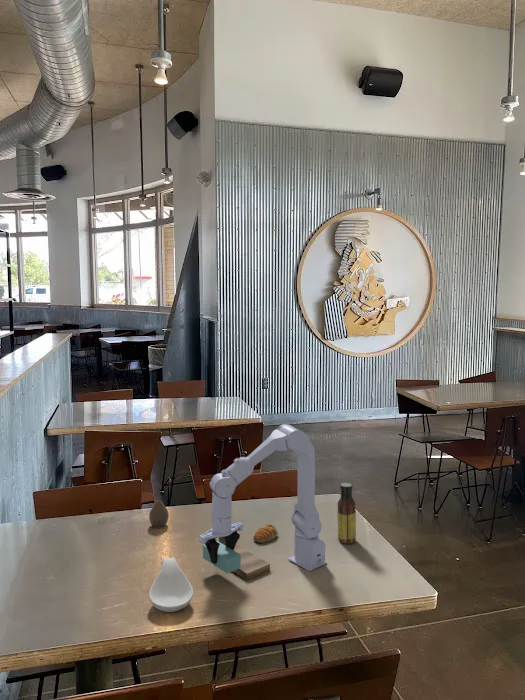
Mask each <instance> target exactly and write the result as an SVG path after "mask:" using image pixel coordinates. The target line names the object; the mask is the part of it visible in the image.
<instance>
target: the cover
mask: <svg viewBox="0 0 525 700" xmlns="http://www.w3.org/2000/svg"><path fill="white" fill-rule="evenodd" d="M215 540H216V539H215ZM216 542H218V543H219V544H220V545H219V548H218V555H217V564H214V563H212V562H211V559H210V555H209V552H208V549H207V547H206V545H205V544H202V559H204V560H205V561H207V562H209V563H210V564H212V565H213V566H215V567H216V568H218V569H219V570H220V571H222V572H223V573H226V574H229V573H231V572H234V570H237V569H239V568H241V554H239V553H237V552H235V551H234V550H232V549H230V548H229V547H227V546H225V545H223V544H222V543H220V542H219V540H216Z"/></svg>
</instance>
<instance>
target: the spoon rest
mask: <svg viewBox="0 0 525 700" xmlns="http://www.w3.org/2000/svg"><path fill="white" fill-rule="evenodd" d="M193 596H194V589H193V586H192V583H191V582H190V581H189V579H188V577H186V575H185V574H184V572H183V570H182V569H181V568H180V566H179V564H178V562H177V560H176V558H175V557H174V556H173V557H170V558H168V557H164V558H162V562H161V566H160V570H159V572H158V573H157V576H156V578H154V581H153V583H152V585H151V587H150V589H149V593H148V599H149V601H150V603H151V605H152V606H153V607H154V608H156V609H157V610H158V611H161V612H166V613H174V612H178V611H181V610H182V609H184V608H186V607H187V606H188V605H189V604H190V602H191V601H192V599H193Z"/></svg>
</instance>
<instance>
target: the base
mask: <svg viewBox="0 0 525 700" xmlns="http://www.w3.org/2000/svg"><path fill="white" fill-rule="evenodd" d="M218 542H220V543H222V544H223V545H225V546H226V544H225V538H224V537H219V538H218ZM234 551H235V552H237V553H239V554H241V568H239V569H237V570H234V571H233V572H234V573H235V574H237V575H238V576H240V577H242V578H243V579H245V580H246V581H248V580H251V579H253V578H255V577H258V576H260V575H262V574H265V573H267V572H269V571H271V563H269V562H268V561H266V560H264V559H262V558H261V557H259V556H257V555H255V554H254V553H252V552H250V551H248V550H247V549H245V548H243V547H241V546H240V545H238V544H236V545H235V548H234Z"/></svg>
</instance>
